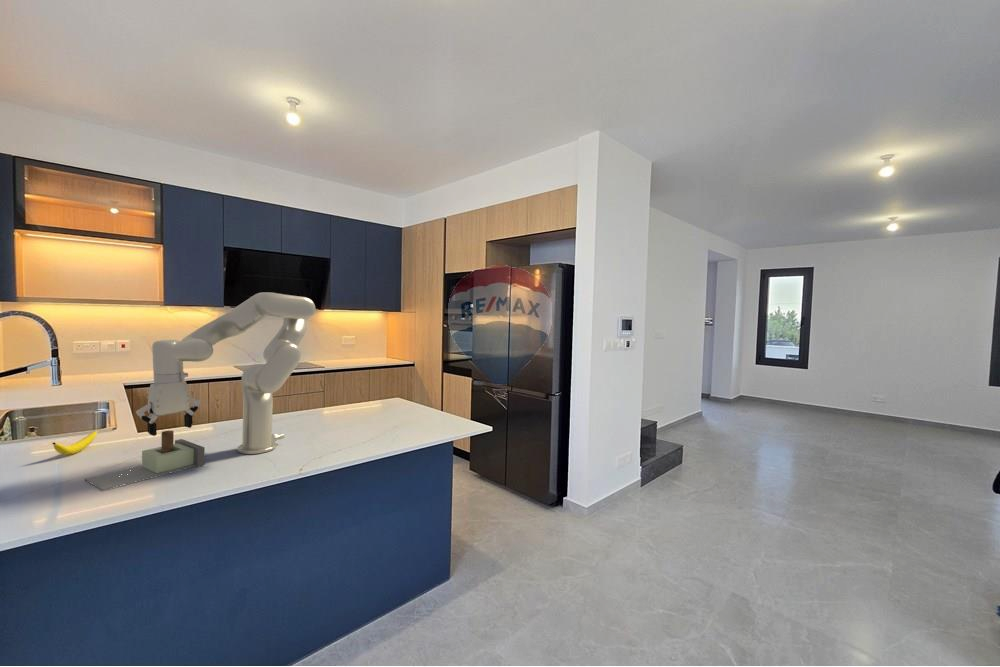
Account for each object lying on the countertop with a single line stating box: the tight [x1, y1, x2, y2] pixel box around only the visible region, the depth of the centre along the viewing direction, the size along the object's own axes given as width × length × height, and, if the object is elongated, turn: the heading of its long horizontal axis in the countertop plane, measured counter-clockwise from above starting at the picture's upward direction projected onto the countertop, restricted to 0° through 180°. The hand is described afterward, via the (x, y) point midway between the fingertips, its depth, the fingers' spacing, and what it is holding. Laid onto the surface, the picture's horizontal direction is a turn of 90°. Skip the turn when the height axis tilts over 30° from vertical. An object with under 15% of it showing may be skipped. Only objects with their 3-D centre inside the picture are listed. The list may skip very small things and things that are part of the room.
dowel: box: [160, 430, 175, 454], centre depth 134 cm, size 3×3×10 cm
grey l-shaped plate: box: [85, 438, 206, 491], centre depth 130 cm, size 25×15×6 cm, turn 151°
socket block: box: [141, 443, 194, 473], centre depth 135 cm, size 10×10×5 cm
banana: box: [51, 430, 99, 456], centre depth 143 cm, size 3×19×6 cm, turn 11°
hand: (171, 430), depth 135 cm, fingers open, 9 cm apart
